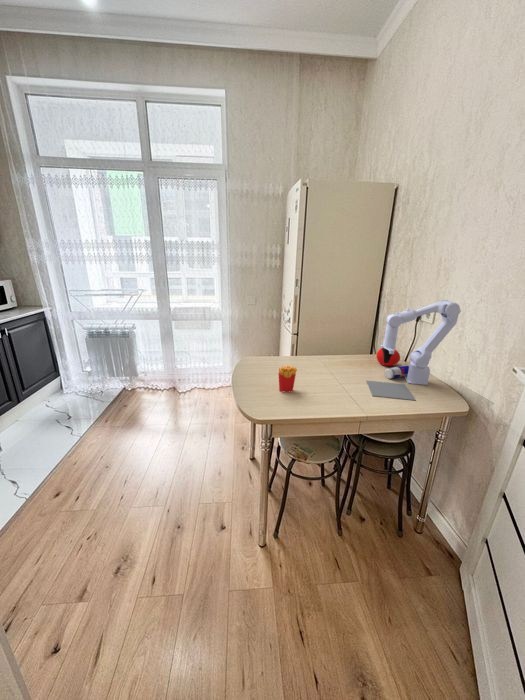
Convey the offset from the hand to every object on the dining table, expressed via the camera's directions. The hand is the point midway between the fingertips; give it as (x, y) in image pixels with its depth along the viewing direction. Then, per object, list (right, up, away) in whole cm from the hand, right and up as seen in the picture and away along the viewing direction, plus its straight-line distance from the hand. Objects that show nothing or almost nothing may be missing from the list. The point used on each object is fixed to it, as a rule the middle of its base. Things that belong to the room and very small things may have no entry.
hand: (385, 362), depth 150 cm
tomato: (+10, -3, +23) cm, 25 cm away
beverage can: (+2, -6, +2) cm, 7 cm away
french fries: (-54, -13, -13) cm, 57 cm away
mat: (-3, -13, -10) cm, 17 cm away
